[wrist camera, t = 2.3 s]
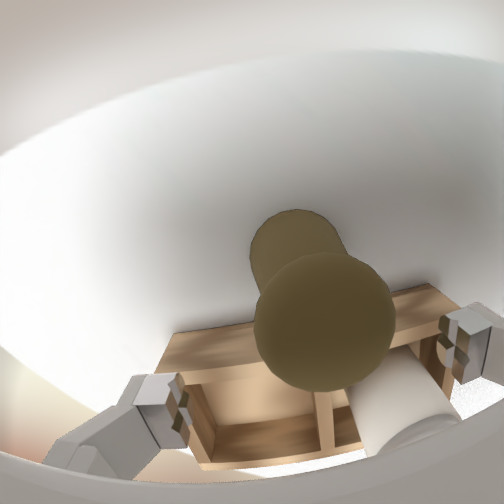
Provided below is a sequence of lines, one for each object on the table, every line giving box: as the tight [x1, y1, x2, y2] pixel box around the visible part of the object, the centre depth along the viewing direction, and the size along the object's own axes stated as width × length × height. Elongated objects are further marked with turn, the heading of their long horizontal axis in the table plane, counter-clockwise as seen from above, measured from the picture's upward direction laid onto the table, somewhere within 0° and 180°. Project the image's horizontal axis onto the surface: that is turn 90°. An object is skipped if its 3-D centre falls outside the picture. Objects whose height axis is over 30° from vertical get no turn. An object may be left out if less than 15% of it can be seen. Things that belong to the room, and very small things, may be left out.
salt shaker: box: [344, 344, 462, 458], centre depth 16 cm, size 6×6×10 cm
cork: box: [249, 209, 396, 392], centre depth 14 cm, size 6×6×11 cm
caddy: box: [154, 283, 461, 470], centre depth 19 cm, size 19×10×5 cm, turn 102°
